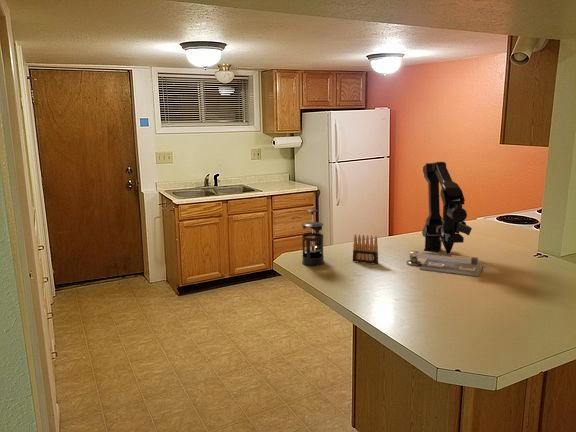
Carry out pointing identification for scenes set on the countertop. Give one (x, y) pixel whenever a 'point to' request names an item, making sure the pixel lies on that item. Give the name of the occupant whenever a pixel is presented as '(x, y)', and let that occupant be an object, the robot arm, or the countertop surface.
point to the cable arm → (444, 257)
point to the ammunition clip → (365, 250)
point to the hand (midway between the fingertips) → (448, 253)
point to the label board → (452, 267)
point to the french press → (316, 252)
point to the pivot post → (413, 262)
